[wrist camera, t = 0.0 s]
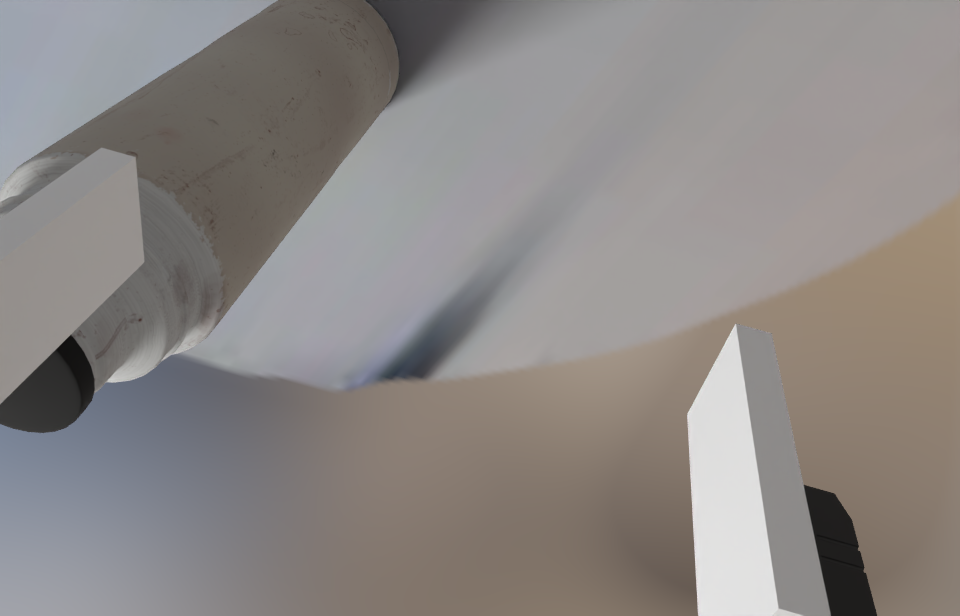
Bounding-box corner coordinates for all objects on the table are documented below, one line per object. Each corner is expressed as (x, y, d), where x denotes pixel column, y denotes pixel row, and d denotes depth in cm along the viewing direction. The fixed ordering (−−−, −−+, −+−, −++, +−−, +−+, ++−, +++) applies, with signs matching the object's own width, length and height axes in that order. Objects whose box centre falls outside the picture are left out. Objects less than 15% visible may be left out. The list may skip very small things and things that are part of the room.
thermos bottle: (264, 105, 46) (-107, 433, 23) (267, -33, 41) (-196, 214, 18) (390, 139, 45) (138, 503, 23) (409, 4, 41) (113, 300, 18)
